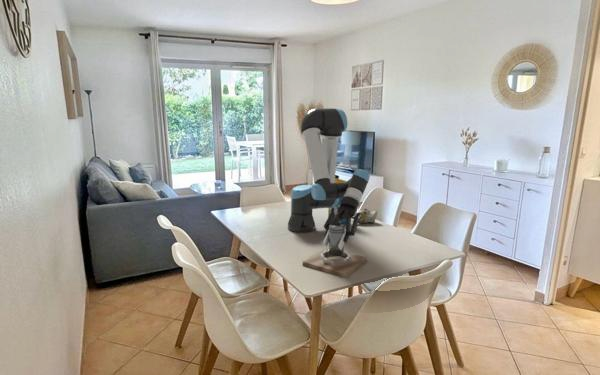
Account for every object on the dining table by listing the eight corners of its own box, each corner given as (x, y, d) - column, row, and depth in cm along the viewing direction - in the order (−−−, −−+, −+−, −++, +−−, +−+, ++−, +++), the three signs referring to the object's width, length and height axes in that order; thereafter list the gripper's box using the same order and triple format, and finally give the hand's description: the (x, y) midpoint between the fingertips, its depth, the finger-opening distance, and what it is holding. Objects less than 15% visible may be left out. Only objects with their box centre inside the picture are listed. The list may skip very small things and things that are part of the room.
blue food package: (336, 217, 216) (337, 177, 211) (349, 222, 206) (350, 180, 201) (327, 219, 213) (329, 178, 208) (340, 224, 203) (342, 181, 198)
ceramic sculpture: (379, 210, 201) (353, 211, 200) (379, 225, 203) (353, 226, 202) (374, 205, 211) (349, 207, 211) (374, 219, 213) (350, 221, 212)
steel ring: (315, 260, 149) (315, 256, 149) (330, 251, 159) (330, 247, 158) (341, 267, 142) (341, 263, 142) (354, 258, 152) (354, 253, 152)
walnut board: (302, 264, 148) (302, 261, 148) (326, 250, 164) (326, 247, 164) (345, 277, 137) (345, 274, 137) (366, 260, 153) (367, 257, 153)
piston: (325, 253, 149) (326, 226, 146) (333, 249, 154) (333, 222, 152) (339, 257, 145) (340, 229, 143) (346, 252, 150) (347, 225, 148)
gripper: (374, 208, 153) (356, 255, 143) (334, 202, 164) (315, 245, 154) (369, 198, 148) (350, 247, 138) (329, 192, 159) (308, 237, 149)
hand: (332, 246), depth 146 cm, fingers closed on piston, 6 cm apart
